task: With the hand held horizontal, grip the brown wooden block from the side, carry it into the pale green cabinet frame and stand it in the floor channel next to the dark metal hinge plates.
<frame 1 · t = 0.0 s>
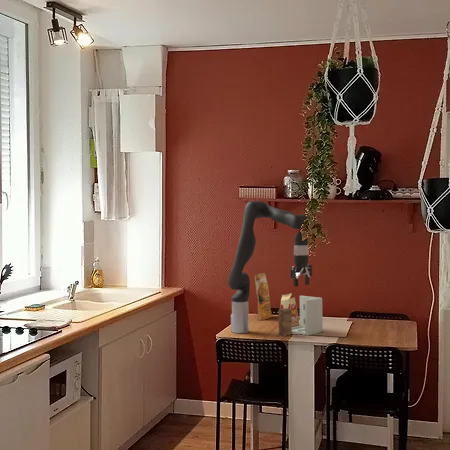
hand: (301, 285, 365), 29 cm above the table, tool pointing down, fingers open, 8 cm apart
brown wooden block: (285, 334, 388), on the table
pancake mix bag: (263, 318, 443), on the table
red cream food bag: (288, 327, 410), on the table
cabinet frame: (304, 332, 394), on the table
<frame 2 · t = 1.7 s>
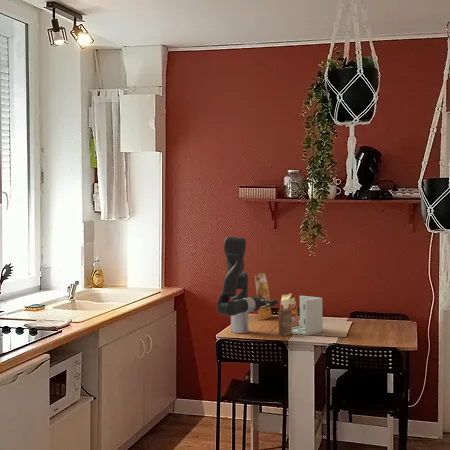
hand: (270, 301, 380), 20 cm above the table, tool horizontal, fingers open, 8 cm apart
nothing on the table moved.
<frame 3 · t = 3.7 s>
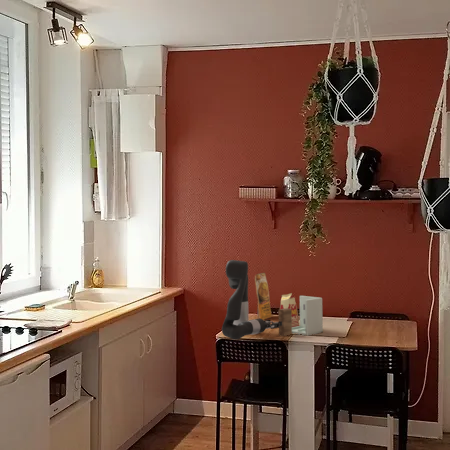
hand: (275, 322, 382), 8 cm above the table, tool horizontal, fingers open, 8 cm apart
nothing on the table moved.
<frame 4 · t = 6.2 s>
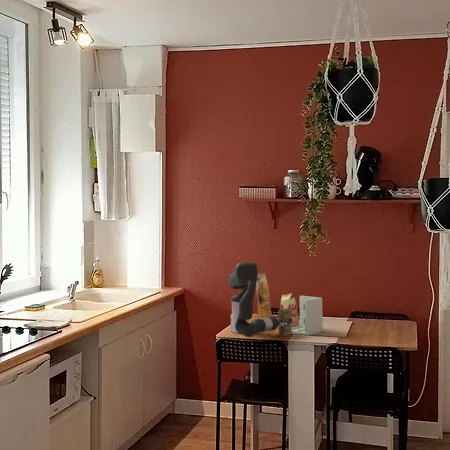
hand: (288, 320, 390), 8 cm above the table, tool horizontal, fingers closed on brown wooden block, 4 cm apart
brown wooden block: (285, 334, 388), on the table, touching gripper
everything else where it was.
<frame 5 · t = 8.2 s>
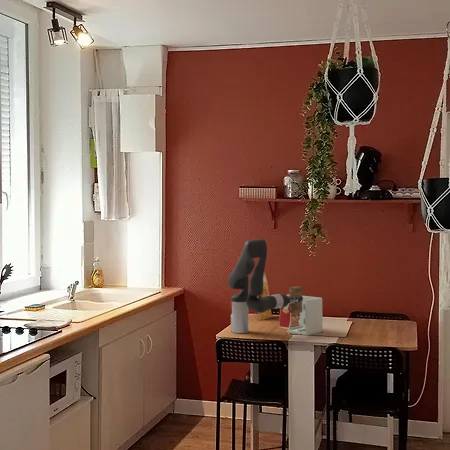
hand: (299, 297, 395), 19 cm above the table, tool horizontal, fingers closed on brown wooden block, 4 cm apart
brown wooden block: (296, 312, 393), point 11 cm above the table, touching gripper
everything else where it was.
when the fingers open (10 cm above the table, at t = 10.6 s): brown wooden block drops 1 cm, resting on cabinet frame.
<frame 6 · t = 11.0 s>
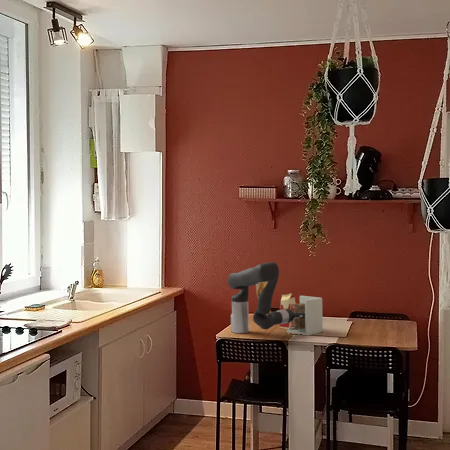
hand: (303, 312, 398), 10 cm above the table, tool horizontal, fingers open, 7 cm apart
brown wooden block: (300, 329, 397), point 1 cm above the table, touching cabinet frame
everything else where it was.
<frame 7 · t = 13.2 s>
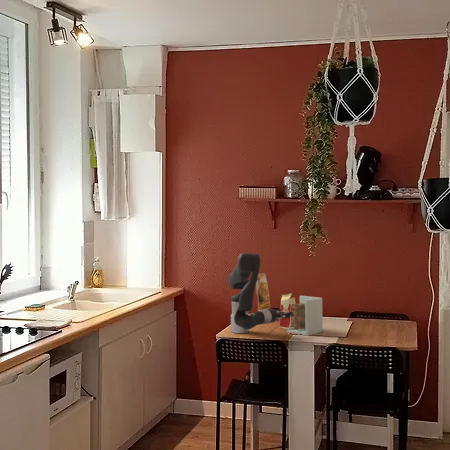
hand: (286, 312, 388), 12 cm above the table, tool horizontal, fingers open, 8 cm apart
nothing on the table moved.
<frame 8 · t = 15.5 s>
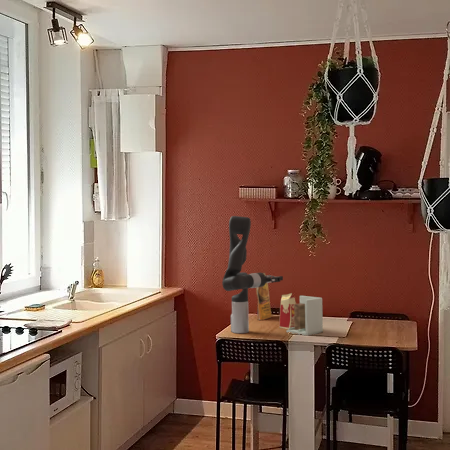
hand: (276, 277, 380), 32 cm above the table, tool horizontal, fingers open, 8 cm apart
nothing on the table moved.
at the end: brown wooden block 0.0 cm from the target spot on the cabinet frame, point 1.2 cm above the cabinet frame's base; brown wooden block tilted 0°; the gripper is holding nothing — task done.
